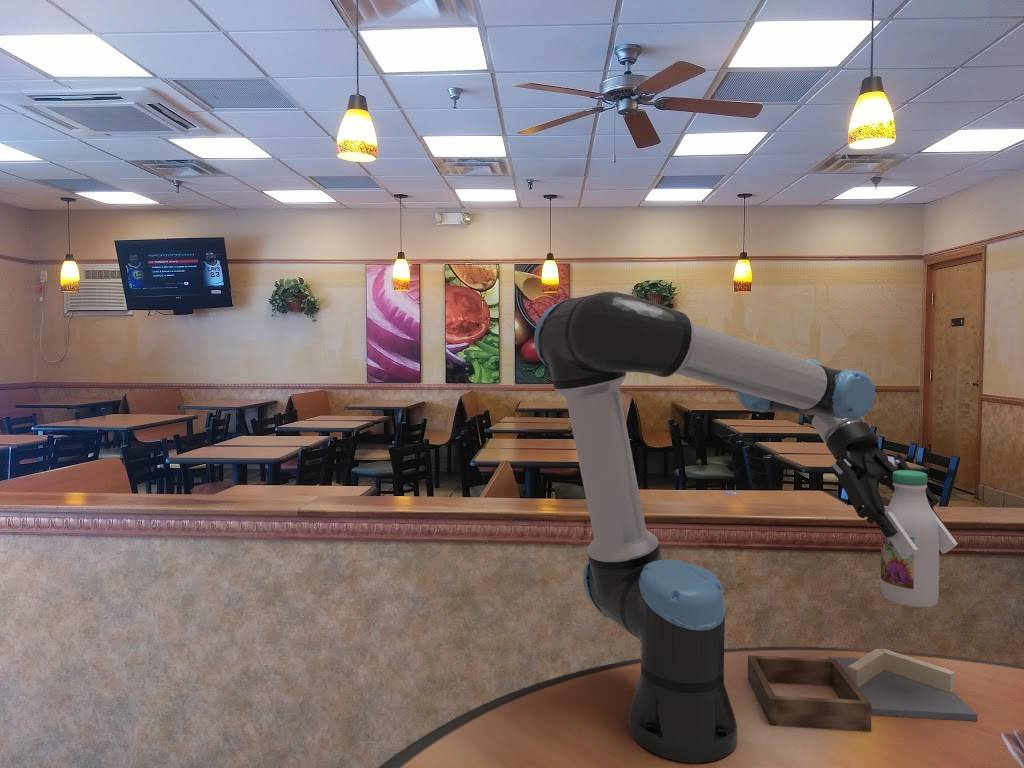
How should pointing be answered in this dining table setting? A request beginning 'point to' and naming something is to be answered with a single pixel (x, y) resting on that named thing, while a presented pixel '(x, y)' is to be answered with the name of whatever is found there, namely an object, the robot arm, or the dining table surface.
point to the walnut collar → (806, 710)
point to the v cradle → (906, 686)
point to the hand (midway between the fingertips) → (930, 551)
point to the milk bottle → (920, 570)
